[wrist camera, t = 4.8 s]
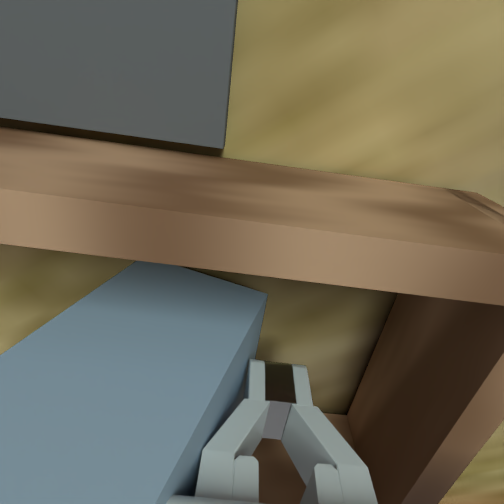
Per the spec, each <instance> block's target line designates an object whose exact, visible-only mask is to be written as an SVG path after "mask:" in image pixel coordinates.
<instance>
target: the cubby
mask: <svg viewBox="0 0 504 504" xmlns="http://www.w3.org/2000/svg"><path fill="white" fill-rule="evenodd" d="M0 244H7V245H16V246H24V247H32V248H40V249H48V250H56V251H64V252H72V253H80V254H89V255H97V256H105V257H113V258H121V259H129V260H137V261H145V262H153V263H162V264H170V265H178V266H186V267H194V268H202V269H210V270H218V271H226V272H235V273H243V274H251V275H259V276H267V277H275V278H283V279H291V280H299V281H308V282H316V283H324V284H332V285H340V286H348V287H356V288H364V289H372V290H380V291H389V292H397V293H398V295H397V297H396V300H395V302H394V305H393V307H392V309H391V312H390V314H389V316H388V319H387V321H386V324H385V326H384V328H383V331H382V333H381V335H380V338H379V340H378V343H377V345H376V347H375V350H374V352H373V355H372V357H371V359H370V362H369V364H368V366H367V369H366V371H365V374H364V376H363V378H362V381H361V383H360V385H359V388H358V390H357V393H356V395H355V397H354V400H353V402H352V404H351V407H350V409H349V412H348V414H347V415H339V414H329V413H323V414H324V415H325V416H326V418H327V419H328V420H329V421H330V422H331V424H332V425H333V426H334V427H335V428H336V430H337V431H338V432H339V433H340V434H341V436H342V437H343V438H344V439H345V441H346V442H347V443H348V444H349V445H350V447H351V448H352V449H353V450H354V451H355V453H356V454H357V455H358V456H359V457H360V459H361V460H362V461H363V462H364V464H365V465H366V466H367V467H368V470H369V474H370V477H371V481H372V484H373V488H374V492H375V495H376V499H377V503H378V504H438V503H439V502H440V500H441V499H442V498H443V497H444V495H445V494H446V493H447V491H448V490H449V489H450V488H451V486H452V485H453V484H454V483H455V481H456V480H457V479H458V477H459V476H460V475H461V474H462V472H463V471H464V470H465V468H466V467H467V466H468V465H469V463H470V462H471V461H472V460H473V458H474V457H475V456H476V454H477V453H478V452H479V451H480V449H481V448H482V447H483V445H484V444H485V443H486V442H487V440H488V439H489V438H490V437H491V435H492V434H493V433H494V431H495V430H496V429H497V428H498V426H499V425H500V424H501V422H502V421H503V420H504V207H502V206H501V205H499V204H497V203H495V202H493V201H491V200H489V199H487V198H486V197H484V196H482V195H480V194H478V193H474V192H467V191H460V190H453V189H446V188H438V187H431V186H424V185H417V184H410V183H402V182H395V181H388V180H381V179H374V178H366V177H359V176H352V175H345V174H338V173H330V172H323V171H316V170H309V169H302V168H294V167H287V166H280V165H273V164H266V163H258V162H251V161H244V160H237V159H230V158H222V157H215V156H208V155H201V154H194V153H186V152H179V151H172V150H165V149H158V148H150V147H143V146H136V145H129V144H122V143H114V142H107V141H100V140H93V139H86V138H78V137H71V136H64V135H57V134H50V133H42V132H35V131H28V130H21V129H14V128H6V127H0ZM252 456H254V457H255V459H256V460H257V461H258V467H259V503H266V504H300V502H301V499H302V497H303V494H304V492H305V489H306V485H305V483H304V481H303V480H302V478H301V476H300V474H299V472H298V471H297V469H296V467H295V465H294V463H293V462H292V460H291V458H290V456H289V454H288V453H287V451H286V449H285V447H284V445H283V444H282V442H281V440H278V439H270V438H261V441H260V442H259V444H258V446H257V447H256V449H255V451H254V452H253V454H252Z"/></svg>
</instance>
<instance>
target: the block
mask: <svg viewBox="0 0 504 504" xmlns="http://www.w3.org/2000/svg"><path fill="white" fill-rule="evenodd" d="M267 296H268V294H266V293H263V292H260V291H257V290H253V289H250V288H247V287H244V286H241V285H238V284H234V283H231V282H228V281H225V280H222V279H218V278H215V277H212V276H209V275H206V274H203V273H199V272H196V271H193V270H190V269H187V268H183V267H180V266H177V265H170V264H162V263H153V262H145V261H135V262H134V263H133V264H131V265H130V266H128V267H127V268H125V269H124V270H122V271H121V272H120V273H118V274H117V275H115V276H114V277H112V278H111V279H109V280H108V281H107V282H105V283H104V284H102V285H101V286H99V287H98V288H96V289H95V290H94V291H92V292H91V293H89V294H88V295H86V296H85V297H83V298H82V299H81V300H79V301H78V302H76V303H75V304H73V305H72V306H70V307H69V308H68V309H66V310H65V311H63V312H62V313H60V314H59V315H58V316H56V317H55V318H53V319H52V320H50V321H49V322H47V323H46V324H45V325H43V326H42V327H40V328H39V329H37V330H36V331H34V332H33V333H32V334H30V335H29V336H27V337H26V338H24V339H23V340H21V341H20V342H19V343H17V344H16V345H14V346H13V347H11V348H10V349H8V350H7V351H6V352H4V353H3V354H1V355H0V504H166V503H167V501H168V500H169V498H170V497H171V496H172V495H173V494H174V495H184V496H194V497H195V493H196V487H197V481H198V475H199V468H200V462H201V456H202V450H203V449H204V447H205V446H206V445H207V444H208V442H209V441H210V440H211V439H212V438H213V436H214V435H215V434H216V433H217V431H218V430H219V429H220V428H221V426H222V425H223V424H224V423H225V422H226V420H227V419H228V418H229V417H230V415H231V414H232V413H233V412H234V410H235V409H236V408H237V407H238V406H239V404H240V403H241V402H242V401H243V395H244V388H245V380H246V375H247V370H248V364H249V360H250V359H255V357H256V351H257V346H258V341H259V336H260V331H261V326H262V321H263V316H264V311H265V306H266V301H267Z"/></svg>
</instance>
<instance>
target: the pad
mask: <svg viewBox="0 0 504 504" xmlns="http://www.w3.org/2000/svg"><path fill="white" fill-rule="evenodd" d="M237 5H238V0H0V118H7V119H14V120H22V121H29V122H36V123H43V124H50V125H57V126H64V127H72V128H79V129H86V130H93V131H100V132H107V133H114V134H121V135H129V136H136V137H143V138H150V139H157V140H164V141H171V142H179V143H186V144H193V145H200V146H207V147H214V148H221V149H223V148H224V146H225V138H226V127H227V116H228V105H229V93H230V82H231V71H232V60H233V49H234V38H235V27H236V16H237Z"/></svg>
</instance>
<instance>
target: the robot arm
mask: <svg viewBox="0 0 504 504" xmlns="http://www.w3.org/2000/svg"><path fill="white" fill-rule="evenodd" d="M261 438H270V439H278V440H281V442H282V444H283V445H284V447H285V449H286V451H287V453H288V454H289V456H290V458H291V460H292V462H293V463H294V465H295V467H296V469H297V471H298V472H299V474H300V476H301V478H302V480H303V481H304V483H305V485H306V489H305V492H304V494H303V497H302V499H301V502H300V504H378V503H377V499H376V495H375V492H374V488H373V484H372V481H371V477H370V474H369V470H368V467H367V466H366V465H365V464H364V462H363V461H362V460H361V459H360V457H359V456H358V455H357V454H356V453H355V451H354V450H353V449H352V448H351V447H350V445H349V444H348V443H347V442H346V441H345V439H344V438H343V437H342V436H341V434H340V433H339V432H338V431H337V430H336V428H335V427H334V426H333V425H332V424H331V422H330V421H329V420H328V419H327V418H326V416H325V415H324V414H323V413H322V411H321V410H320V409H319V408H318V407H316V406H313V402H312V395H311V389H310V383H309V377H308V371H307V367H306V366H305V365H297V364H288V363H278V362H271V361H262V360H255V359H250V360H249V364H248V370H247V375H246V380H245V388H244V395H243V401H242V402H241V403H240V404H239V406H238V407H237V408H236V409H235V410H234V412H233V413H232V414H231V415H230V417H229V418H228V419H227V420H226V422H225V423H224V424H223V425H222V426H221V428H220V429H219V430H218V431H217V433H216V434H215V435H214V436H213V438H212V439H211V440H210V441H209V442H208V444H207V445H206V446H205V447H204V449H203V450H202V456H201V462H200V468H199V475H198V481H197V487H196V493H195V497H194V496H184V495H174V494H173V495H172V496H171V497H170V498H169V500H168V501H167V503H166V504H266V503H259V467H258V461H257V460H256V459H255V457H254V456H252V454H253V452H254V451H255V449H256V447H257V446H258V444H259V442H260V441H261Z"/></svg>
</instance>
